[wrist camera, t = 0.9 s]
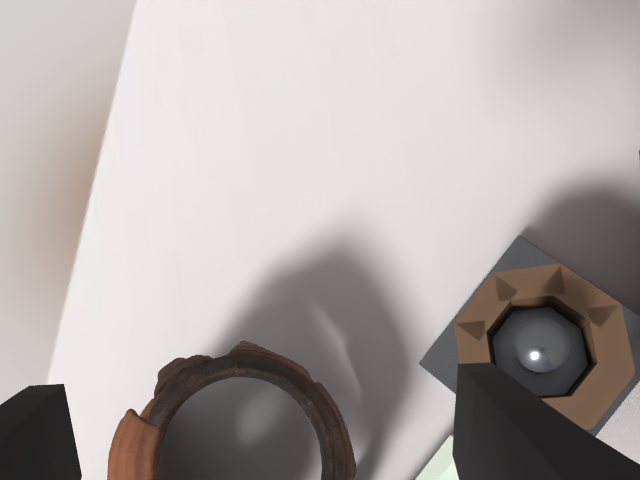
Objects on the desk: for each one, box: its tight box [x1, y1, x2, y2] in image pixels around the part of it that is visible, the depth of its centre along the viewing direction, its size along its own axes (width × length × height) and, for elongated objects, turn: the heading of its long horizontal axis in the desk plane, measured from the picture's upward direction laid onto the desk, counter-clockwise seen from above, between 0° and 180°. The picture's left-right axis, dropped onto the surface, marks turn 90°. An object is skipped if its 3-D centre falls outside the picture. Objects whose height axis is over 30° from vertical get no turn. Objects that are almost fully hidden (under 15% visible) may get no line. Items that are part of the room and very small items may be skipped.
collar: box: [454, 263, 635, 430], centre depth 21 cm, size 5×5×4 cm
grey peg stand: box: [419, 236, 640, 436], centre depth 21 cm, size 6×6×6 cm
